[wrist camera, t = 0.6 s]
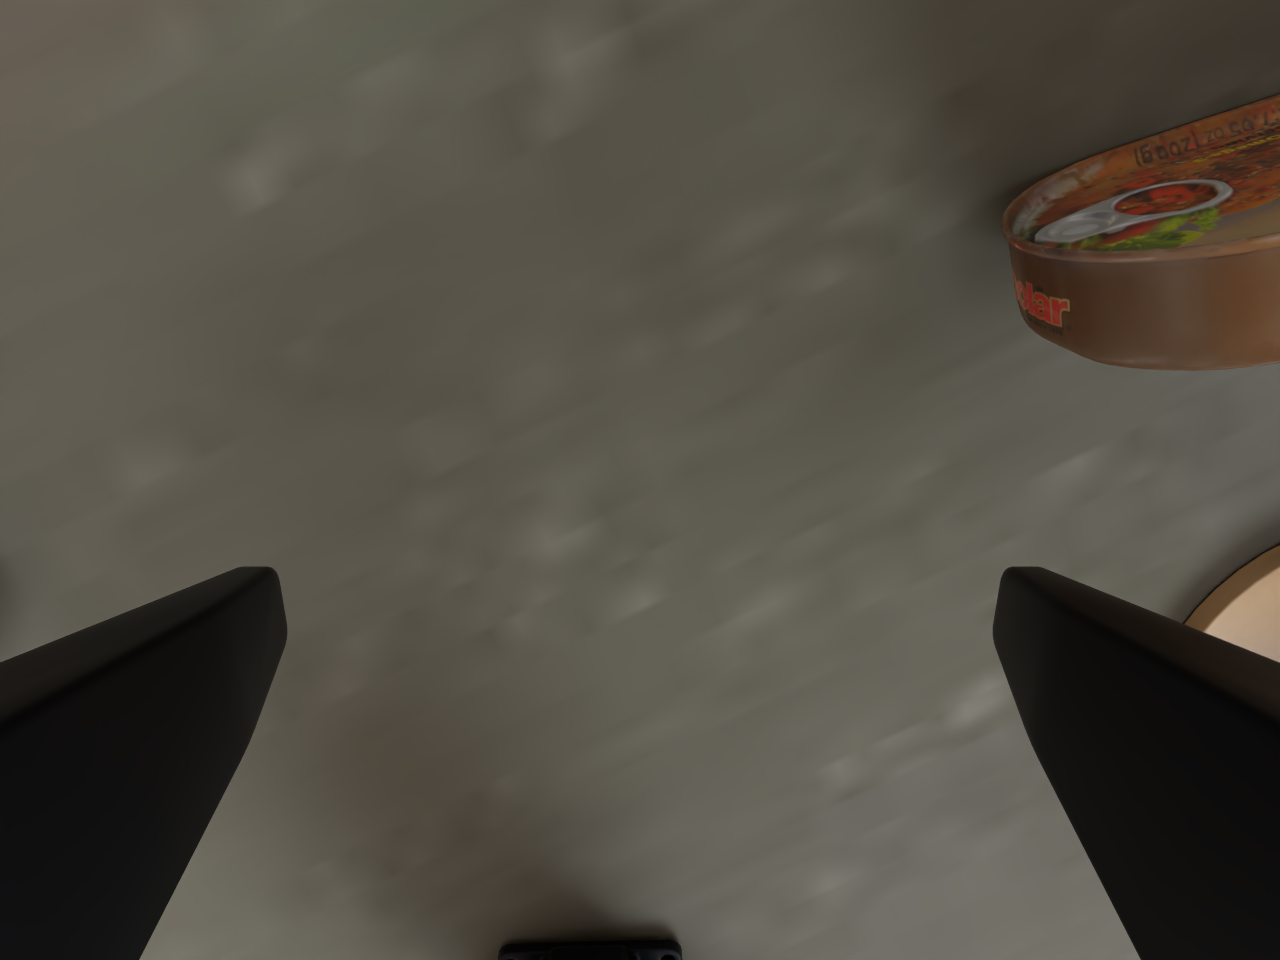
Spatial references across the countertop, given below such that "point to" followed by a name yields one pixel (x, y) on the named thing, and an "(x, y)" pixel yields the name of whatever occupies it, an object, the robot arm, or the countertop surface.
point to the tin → (1159, 248)
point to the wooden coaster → (1246, 607)
